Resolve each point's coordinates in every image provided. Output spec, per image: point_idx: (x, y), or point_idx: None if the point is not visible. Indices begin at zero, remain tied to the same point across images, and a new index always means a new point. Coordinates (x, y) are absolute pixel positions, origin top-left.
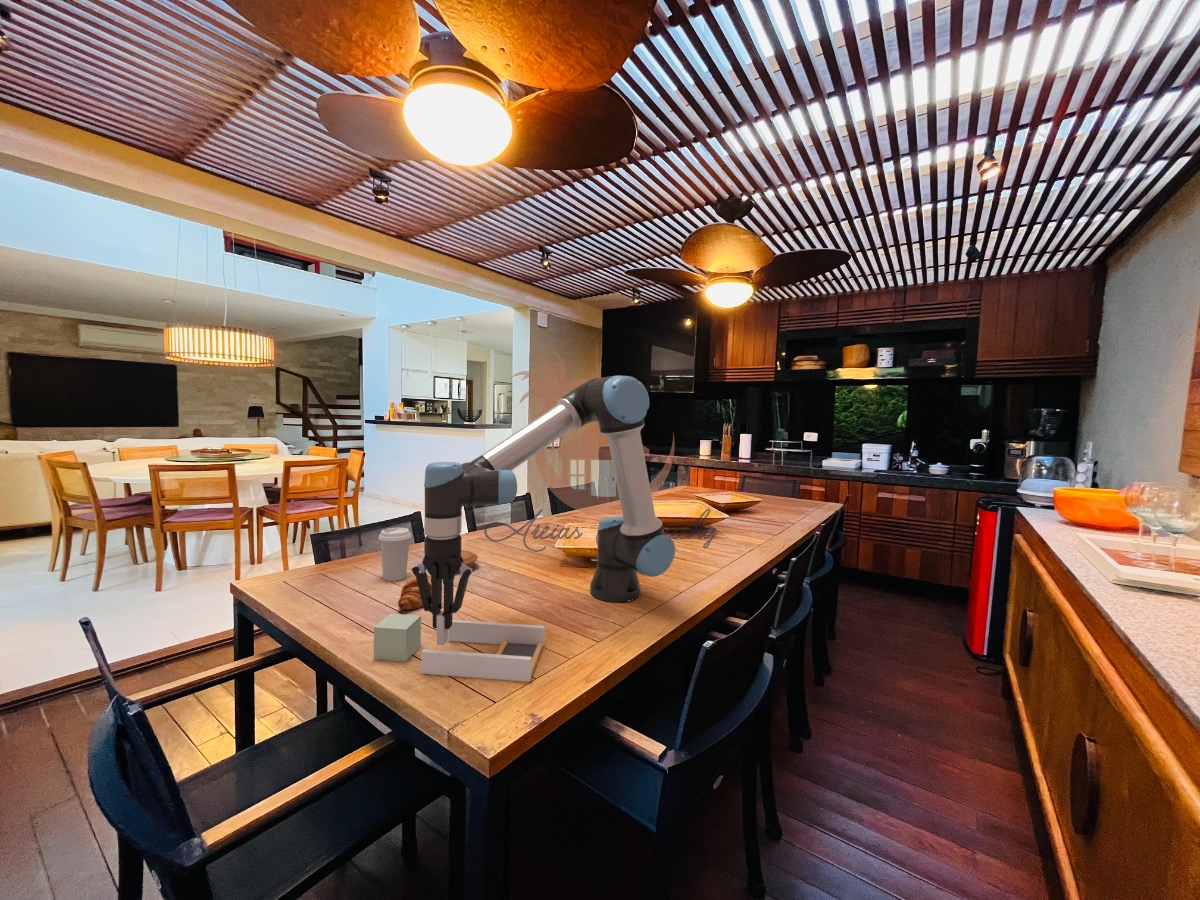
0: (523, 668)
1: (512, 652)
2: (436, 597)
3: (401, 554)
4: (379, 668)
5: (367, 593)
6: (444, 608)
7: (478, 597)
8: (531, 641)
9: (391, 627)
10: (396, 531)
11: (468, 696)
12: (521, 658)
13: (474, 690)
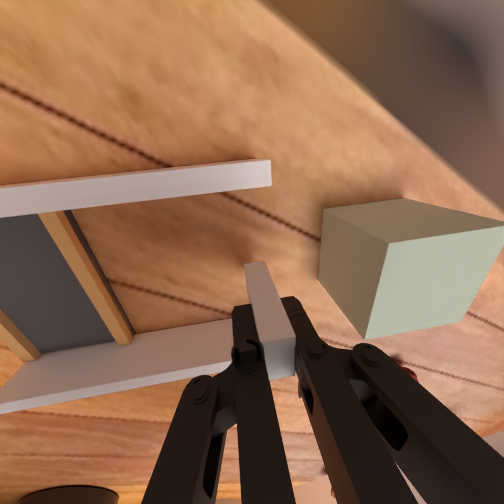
0: None
1: (75, 310)
2: (357, 474)
3: None
4: (377, 157)
5: (462, 383)
6: (264, 387)
7: (285, 428)
8: (57, 357)
9: (449, 242)
10: None
11: (8, 43)
12: None
13: (24, 96)
